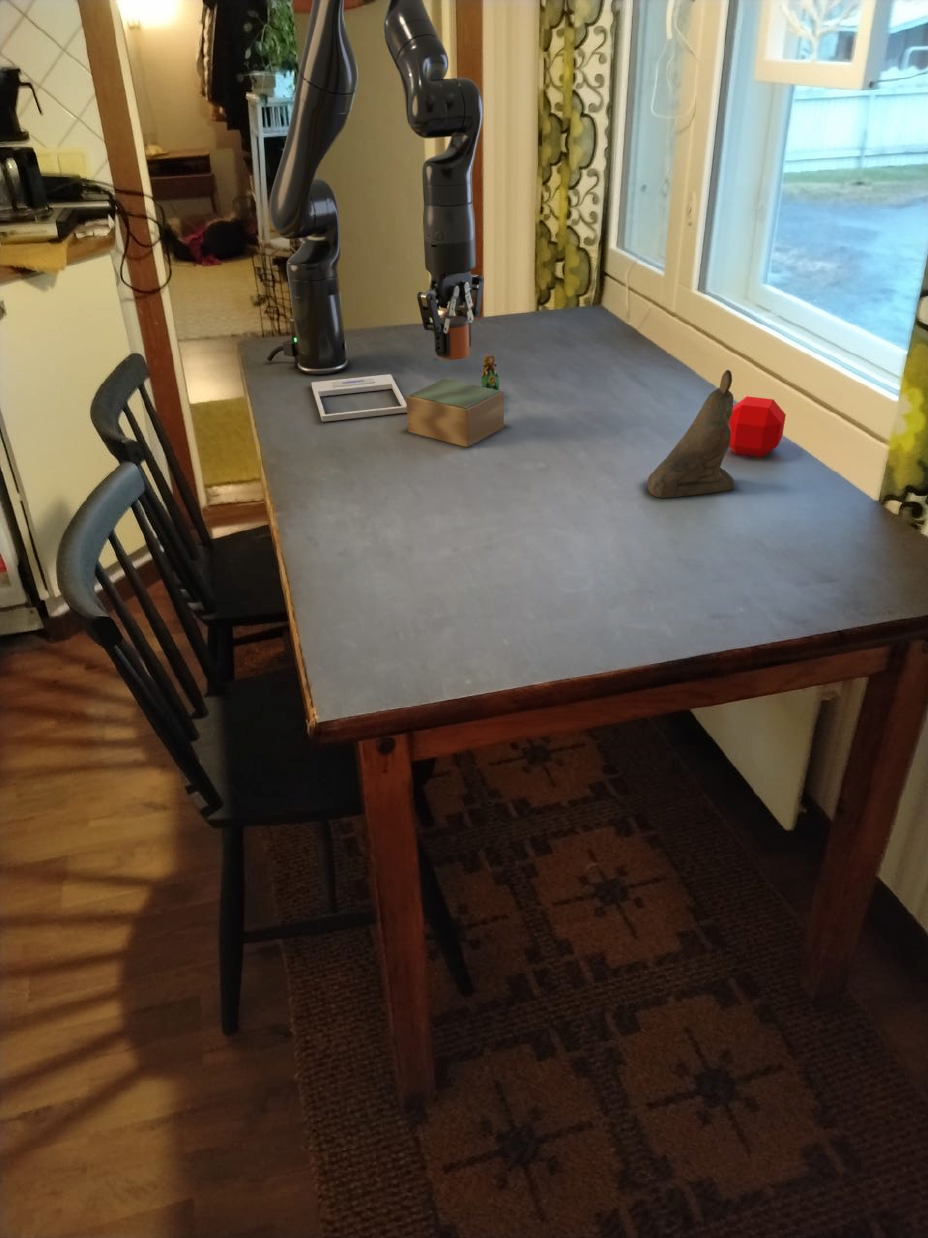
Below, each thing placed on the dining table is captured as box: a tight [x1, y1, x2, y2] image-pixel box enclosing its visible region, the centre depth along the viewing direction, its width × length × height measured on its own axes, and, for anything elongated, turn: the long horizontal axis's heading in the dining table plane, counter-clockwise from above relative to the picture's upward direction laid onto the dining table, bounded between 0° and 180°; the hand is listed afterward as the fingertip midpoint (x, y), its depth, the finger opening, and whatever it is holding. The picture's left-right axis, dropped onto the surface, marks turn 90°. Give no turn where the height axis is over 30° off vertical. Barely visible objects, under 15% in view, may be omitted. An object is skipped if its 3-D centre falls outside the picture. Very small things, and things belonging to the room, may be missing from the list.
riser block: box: [405, 378, 505, 448], centre depth 154 cm, size 12×10×6 cm
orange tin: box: [438, 315, 470, 361], centre depth 148 cm, size 5×5×5 cm
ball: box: [729, 395, 787, 458], centre depth 143 cm, size 8×8×8 cm
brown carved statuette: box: [646, 369, 735, 499], centre depth 131 cm, size 12×6×18 cm, turn 97°
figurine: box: [480, 354, 500, 391], centre depth 164 cm, size 3×12×8 cm, turn 5°
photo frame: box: [311, 373, 407, 422], centre depth 168 cm, size 15×1×18 cm
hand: (453, 351), depth 149 cm, fingers closed on orange tin, 4 cm apart
